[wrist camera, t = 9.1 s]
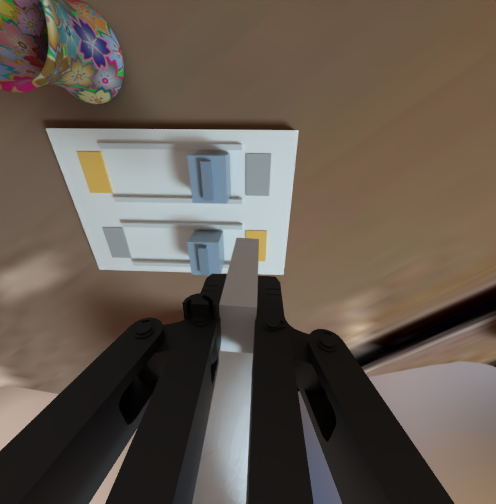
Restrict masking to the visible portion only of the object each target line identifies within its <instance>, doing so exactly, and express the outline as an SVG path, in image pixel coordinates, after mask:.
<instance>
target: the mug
mask: <svg viewBox="0 0 496 504" xmlns="http://www.w3.org/2000/svg"><path fill="white" fill-rule="evenodd" d="M123 78H124V62H123V56H122V52H121V48H120V46H119V43H118V41H117V38H116V36H115V35H114V33H113V31H112V29H111V28H110V26H109V25H108V24H107V22H106V21H105V20H104V19H103V18H102V16H101V15H100V14H99V13H97V12H96V11H95V10H94V9H93V8H91V7H90V6H88V5H87V4H85V3H83V2H80V1H77V0H0V90H4V91H8V92H15V93H22V92H28V91H32V90H34V89H37V88H39V87H41V86H44V85H57V86H61V87H63V88H65V89H66V90H67V91H68V92H69V93H70V94H72V95H73V96H75V97H76V98H78V99H80V100H82V101H84V102H87V103H91V104H102V103H106V102H108V101H110V100H112V99H113V98H114V97H115V96H116V95H117V93H118V92H119V90H120V88H121V86H122V83H123Z"/></svg>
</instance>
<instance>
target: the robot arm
mask: <svg viewBox="0 0 496 504" xmlns="http://www.w3.org/2000/svg"><path fill="white" fill-rule="evenodd" d="M258 256H259V239H252V238H236V242H235V246H234V250H233V253H232V257H231V261H230V265H229V269H228V273H227V274H213V273H212V274H211V275H210V276H209V277H207V278H206V280H205V283H204V286H203V288H202V291H201V293H199V294H194V295H191V296H189V297H188V298H186V299H185V300H184V302H183V311H184V318H185V319H184V320H182V321H180V322H177V323H173V324H167V325H163V324H162V323H161V321H160V320H158V319H156V318H145V319H142V320H139V321H137V322H135V323H134V324H132V325H131V326H130V327H129V328H128V329H127V330H126V331H125V332H123V333H122V334H121V335H120V336H119V337H118V338H117V339H116V340H115V341H114V342H113V343H112V344H111V345H110V346H109V347H108V348H107V349H106V350H105V351H104V352H103V353H102V354H101V355H100V356H99V357H97V358H96V359H95V360H94V361H93V362H92V363H91V364H90V365H89V366H88V367H87V368H86V369H85V370H84V371H83V372H82V373H81V374H80V375H79V376H78V377H77V378H76V379H75V380H74V381H73V382H72V383H70V384H69V385H68V386H67V387H66V388H65V389H64V390H63V391H62V392H61V393H60V394H59V395H58V396H57V397H56V398H55V399H54V400H53V401H52V402H51V403H50V404H49V405H48V406H47V407H46V408H45V409H43V411H41V412H40V414H38V415H37V416H36V417H35V418H34V419H33V420H32V421H31V422H30V423H29V424H28V425H27V426H26V427H25V428H24V429H23V430H22V431H21V432H20V433H19V434H18V435H16V437H14V438H13V439H12V440H11V441H10V442H9V443H8V444H7V445H6V446H5V447H4V448H3V449H2V450H1V451H0V504H89V502H90V501H91V499H92V498H93V496H94V495H95V493H96V492H97V490H98V489H99V487H100V485H101V484H102V482H103V481H104V479H105V478H106V476H107V474H108V473H109V471H110V470H111V468H112V467H113V465H114V464H115V462H116V460H117V459H118V457H119V456H120V454H121V453H122V451H123V450H124V448H125V446H126V445H127V443H128V442H129V440H130V439H131V437H132V436H133V434H134V432H135V431H136V429H137V428H138V429H137V431H136V434H135V436H134V438H133V440H132V443H131V445H130V447H129V449H128V452H127V454H126V456H125V459H124V461H123V463H122V466H121V468H120V470H119V473H118V475H117V478H116V480H115V482H114V484H113V487H112V489H111V491H110V494H109V496H108V499H107V501H106V503H105V504H192V502H193V497H194V492H195V486H196V481H197V476H198V470H199V465H200V460H201V455H202V449H203V444H204V439H205V434H206V428H207V423H208V418H209V413H210V407H211V402H212V397H213V391H214V386H215V381H216V376H217V370H218V365H219V351H220V346H221V351H228V352H241V353H253V362H252V375H251V376H252V381H251V403H250V426H249V448H248V470H247V492H246V504H313V497H312V489H311V482H310V475H309V468H308V461H307V454H306V447H305V440H304V433H303V426H302V419H301V411H300V404H299V397H298V390H297V386H298V387H299V390H300V393H301V395H302V398H303V400H304V403H305V406H306V408H307V411H308V414H309V416H310V419H311V422H312V424H313V427H314V430H315V432H316V435H317V437H318V440H319V443H320V445H321V448H322V451H323V453H324V456H325V459H326V461H327V464H328V467H329V469H330V472H331V474H332V477H333V480H334V482H335V485H336V487H337V490H338V493H339V496H340V498H341V501H342V504H454V502H453V501H452V499H451V498H450V496H449V495H448V493H447V492H446V491H445V489H444V488H443V486H442V485H441V483H440V482H439V480H438V479H437V477H436V476H435V475H434V473H433V472H432V470H431V469H430V467H429V466H428V464H427V463H426V461H425V460H424V458H423V457H422V456H421V454H420V453H419V451H418V450H417V448H416V447H415V445H414V444H413V442H412V441H411V440H410V438H409V436H408V435H407V434H406V432H405V431H404V429H403V428H402V426H401V425H400V423H399V422H398V421H397V419H396V418H395V416H394V415H393V413H392V412H391V410H390V409H389V407H388V406H387V405H386V403H385V402H384V400H383V399H382V397H381V396H380V394H379V393H378V391H377V390H376V388H375V387H374V385H373V384H372V382H371V381H370V380H369V378H368V377H367V375H366V374H365V372H364V371H363V369H362V368H361V366H360V365H359V363H358V362H357V361H356V359H355V358H354V356H353V355H352V353H351V352H350V350H349V349H348V347H347V346H346V344H345V343H344V342H343V340H342V339H341V338H340V337H339V336H338V335H336V334H335V333H333V332H331V331H328V330H325V329H317V330H314V331H312V332H311V333H310V334H306V333H303V332H301V331H298V330H296V329H294V328H293V327H291V326H290V325H289V324H288V323H287V321H286V320H285V317H284V310H283V302H282V296H281V295H282V294H281V286H280V282H279V281H278V279H277V278H276V277H271V276H258Z"/></svg>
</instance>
